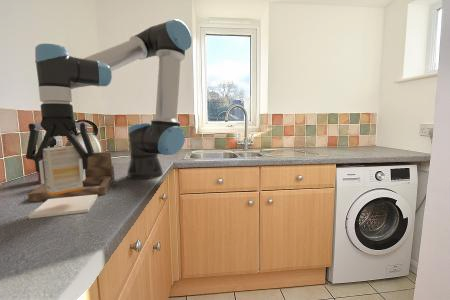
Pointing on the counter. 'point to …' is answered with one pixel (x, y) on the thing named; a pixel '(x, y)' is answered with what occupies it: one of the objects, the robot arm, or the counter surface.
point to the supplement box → (62, 170)
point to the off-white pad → (64, 206)
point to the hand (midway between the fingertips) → (64, 181)
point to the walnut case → (95, 174)
